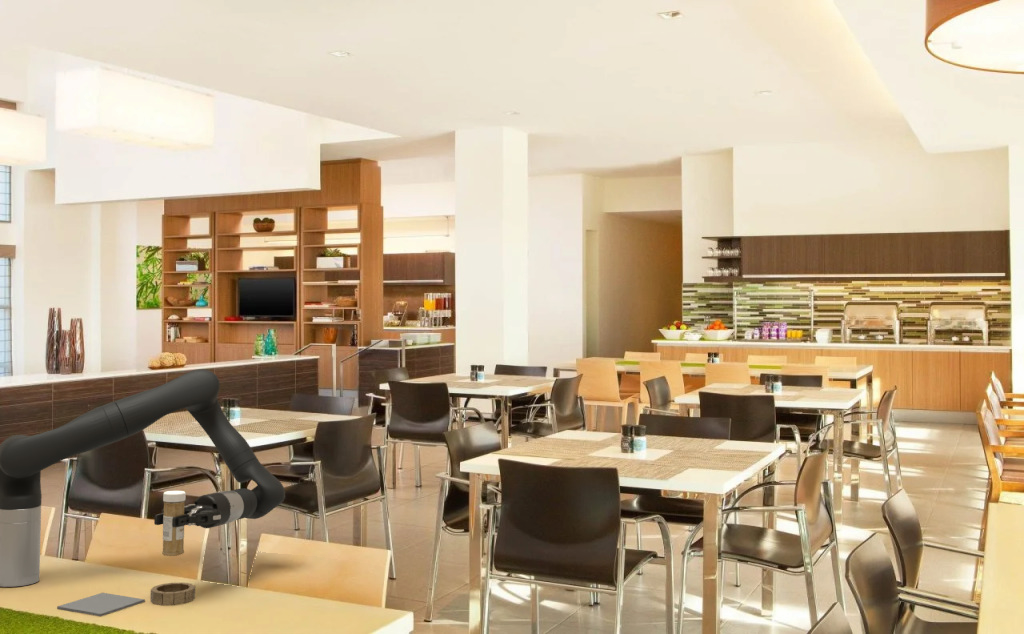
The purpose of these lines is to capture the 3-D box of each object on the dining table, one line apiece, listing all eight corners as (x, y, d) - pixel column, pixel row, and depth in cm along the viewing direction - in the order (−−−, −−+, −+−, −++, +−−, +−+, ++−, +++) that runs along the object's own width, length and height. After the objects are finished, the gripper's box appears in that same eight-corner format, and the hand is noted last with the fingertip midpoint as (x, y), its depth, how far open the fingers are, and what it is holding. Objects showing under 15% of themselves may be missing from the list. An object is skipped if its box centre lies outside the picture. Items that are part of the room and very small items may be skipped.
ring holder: (142, 602, 206) (142, 590, 206) (171, 592, 214) (171, 580, 214) (174, 607, 203) (174, 595, 203) (203, 597, 211) (203, 585, 211)
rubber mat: (57, 608, 200) (57, 606, 200) (102, 594, 211) (102, 592, 211) (100, 616, 196) (100, 614, 196) (144, 601, 207) (144, 599, 207)
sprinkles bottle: (186, 555, 208) (188, 492, 208) (164, 557, 206) (166, 494, 206) (180, 550, 212) (182, 489, 212) (159, 553, 209) (161, 490, 210)
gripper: (194, 489, 225) (139, 500, 209) (244, 495, 219) (191, 506, 204) (193, 521, 225) (138, 535, 209) (243, 528, 219) (190, 542, 203)
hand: (164, 521), depth 206 cm, fingers closed on sprinkles bottle, 4 cm apart
